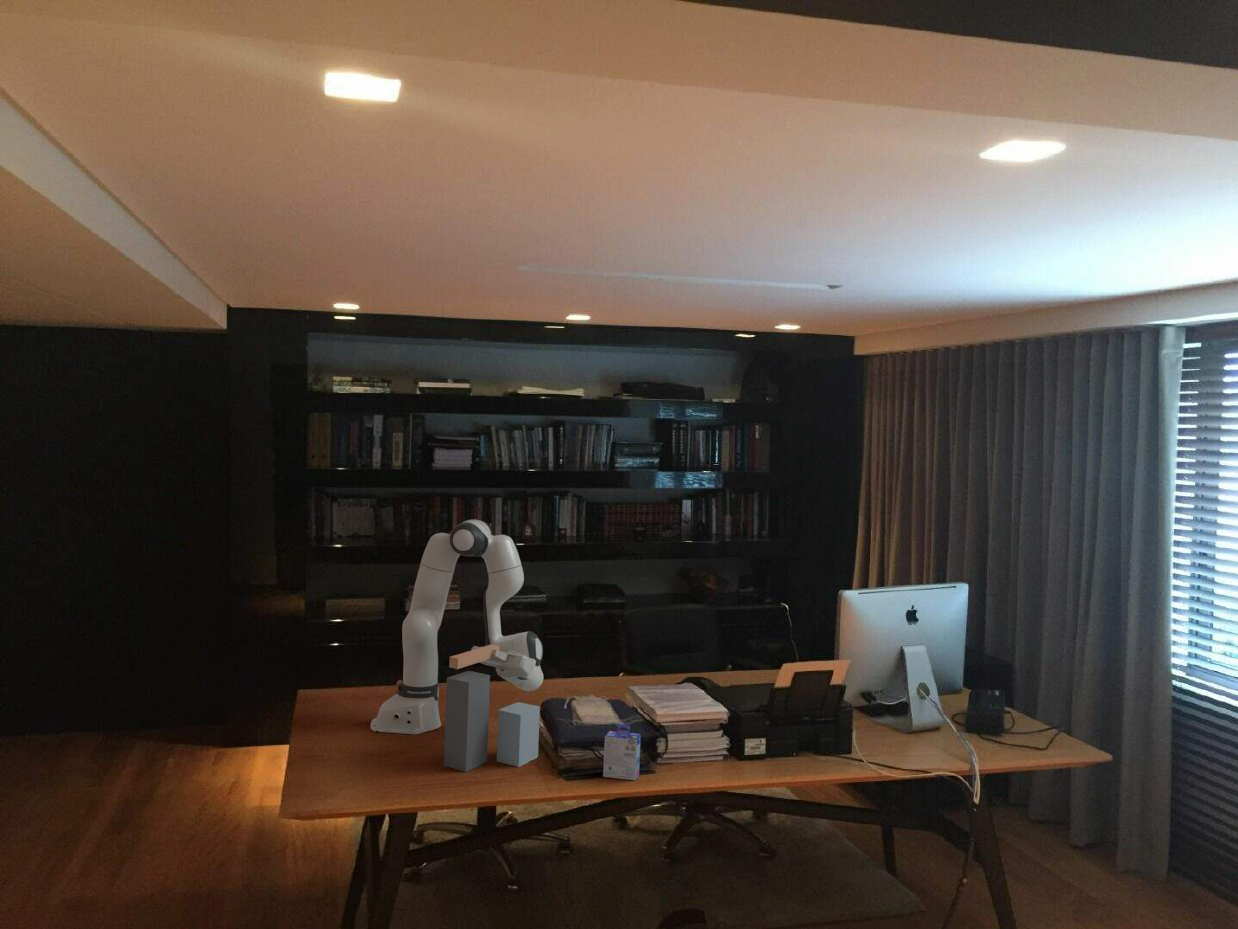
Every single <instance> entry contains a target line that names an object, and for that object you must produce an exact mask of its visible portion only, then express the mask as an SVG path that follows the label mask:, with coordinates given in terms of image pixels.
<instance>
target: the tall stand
mask: <svg viewBox="0 0 1238 929" xmlns="http://www.w3.org/2000/svg"><path fill="white" fill-rule="evenodd" d="M490 686H491V675H490V674H486V673H480V672H476V671H472V670H467V671H464V672H460V673H458V674H455V675H451V676H448V677H446V690H445V691H446V695H445V720H444V721H445V723H444V727H445V728H444V729H445V730H444V749H443V750H444V753H443V754H444V757H443V767H446V768H449V767H450V768H451V769H453V768H454V769H453V770H457V771H461V772H464V773H466V772H469V771H471V770H472V769H475V768H477V767H479V766H481V765H483V764H486V763H488V746H489V745H488V743H489V742H488V741H489V740H488V738H489V716H490V715H489V712H490Z"/></svg>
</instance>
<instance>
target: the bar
mask: <svg viewBox="0 0 1238 929" xmlns="http://www.w3.org/2000/svg"><path fill="white" fill-rule="evenodd" d="M480 647H481V648H478V649H475V650H468V651H465V652H462V653H459V654H455V655H451V656H449V666H448V667H449V668H450V669H455V670H459V669H462V668H465V667H468V666H469V667H470V666H472V665H475V664H478V663H480V662H481V661H484V660H488V659H491V658H494V657H495V656H493V655H492V652H493V649H495V650H498V651H500V646H498V645H492V644H491V645H488V646H486V645H484V646H480Z"/></svg>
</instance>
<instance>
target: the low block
mask: <svg viewBox="0 0 1238 929" xmlns="http://www.w3.org/2000/svg"><path fill="white" fill-rule="evenodd" d="M540 709H541V707H540V706H539V705H534V704H529V703H525V702H519V701H517V702H514V703H512V704H509V705H506V706H504V707H501V708H500V709H498V712H497V737H496V738H497V739H496V740H497V741H496V743H497V744H496V745H497V746H496V763H497V762H498V763H501V764H506V765H508V766H512V767H517V768H520V767H522V766H523V765H526V764H528V763H529V761H530V762H531V760H532V761H534V760H536V759H537V757H538V758H539V742H540V741H539V737H540V734H539V733H540V717H541V716H540V714H541V710H540Z"/></svg>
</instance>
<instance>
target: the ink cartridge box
mask: <svg viewBox="0 0 1238 929" xmlns="http://www.w3.org/2000/svg"><path fill="white" fill-rule="evenodd" d="M621 728H625V729H626V730H625V729H624V730H623V729H621ZM616 729H617V730H616V731H611V730H609V731H607V733H606V734H605V735H604V744H603V745H604V746H603V747H604V748H603V768H602V769H603V770H602V771H603V772H602V777H603V778H613V779H619V780H627V781H628V780H629V781H636V780H637V779H638V777H639V776H640V762H641V761H640V758H641V757H640V756H641V736H642V735H641V733H634V732H630V731H631V725H625V724H618V725H617V728H616Z"/></svg>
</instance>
